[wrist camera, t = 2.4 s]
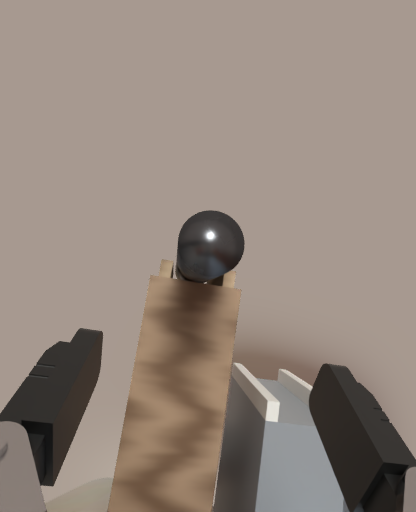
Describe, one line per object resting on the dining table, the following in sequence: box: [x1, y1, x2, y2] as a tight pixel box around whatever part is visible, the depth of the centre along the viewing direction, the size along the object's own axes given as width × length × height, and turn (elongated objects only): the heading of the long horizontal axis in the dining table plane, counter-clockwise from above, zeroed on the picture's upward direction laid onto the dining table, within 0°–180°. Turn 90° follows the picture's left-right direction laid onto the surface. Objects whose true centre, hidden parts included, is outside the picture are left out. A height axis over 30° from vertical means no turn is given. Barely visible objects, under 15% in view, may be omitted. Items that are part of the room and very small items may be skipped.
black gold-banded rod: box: [175, 211, 244, 283], centre depth 29 cm, size 23×4×4 cm, turn 6°
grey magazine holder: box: [213, 363, 344, 512], centre depth 29 cm, size 7×14×24 cm, turn 6°
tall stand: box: [108, 260, 241, 512], centre depth 31 cm, size 8×14×34 cm, turn 6°
